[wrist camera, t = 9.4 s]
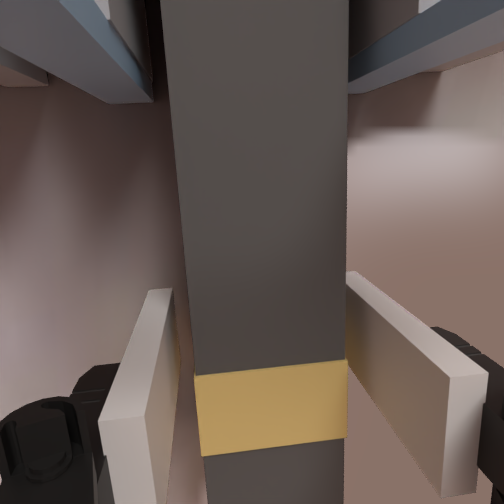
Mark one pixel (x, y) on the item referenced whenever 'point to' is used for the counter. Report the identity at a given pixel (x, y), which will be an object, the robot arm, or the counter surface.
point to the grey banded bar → (264, 239)
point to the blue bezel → (140, 87)
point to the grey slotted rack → (136, 39)
